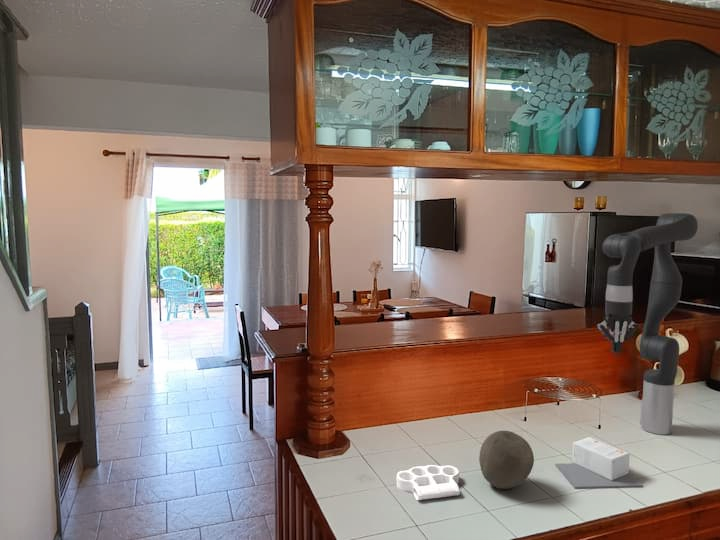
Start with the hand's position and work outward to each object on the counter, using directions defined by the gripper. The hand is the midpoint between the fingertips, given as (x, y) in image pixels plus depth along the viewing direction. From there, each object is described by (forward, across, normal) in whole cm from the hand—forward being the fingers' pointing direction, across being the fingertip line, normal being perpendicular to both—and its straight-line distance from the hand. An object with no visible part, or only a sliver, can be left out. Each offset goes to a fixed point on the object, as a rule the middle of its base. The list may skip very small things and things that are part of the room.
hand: (616, 352), depth 160 cm
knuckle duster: (+32, -63, -21) cm, 74 cm away
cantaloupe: (+31, -42, -22) cm, 57 cm away
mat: (+31, -14, -18) cm, 38 cm away
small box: (+28, -15, -9) cm, 32 cm away
